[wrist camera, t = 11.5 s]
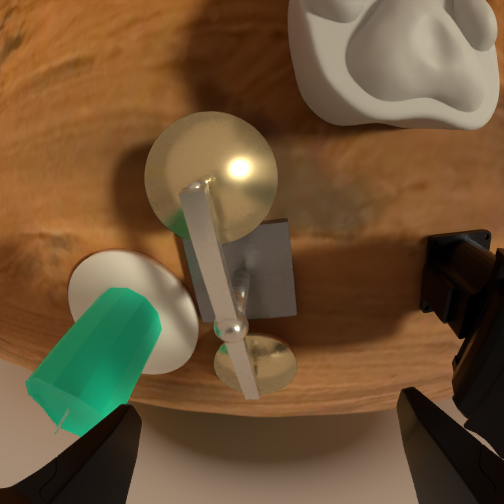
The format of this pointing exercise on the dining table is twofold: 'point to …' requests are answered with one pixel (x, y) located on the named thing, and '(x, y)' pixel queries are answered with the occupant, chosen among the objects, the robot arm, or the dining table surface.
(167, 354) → the dish
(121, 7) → the dining table surface
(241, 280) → the balance
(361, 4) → the lumpy-topped squat cylinder
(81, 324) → the candle
